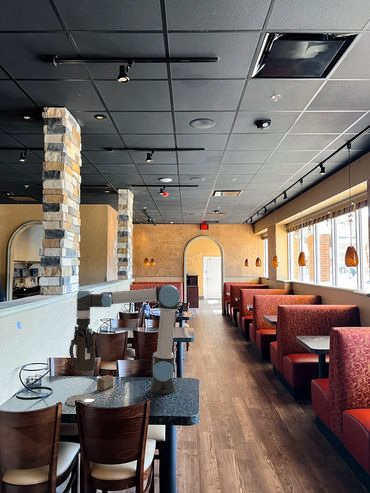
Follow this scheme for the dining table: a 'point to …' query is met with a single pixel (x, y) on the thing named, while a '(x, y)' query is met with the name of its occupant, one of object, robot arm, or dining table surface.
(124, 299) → the robot arm
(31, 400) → the dining table surface
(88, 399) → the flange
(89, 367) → the beer stein
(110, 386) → the menu block
